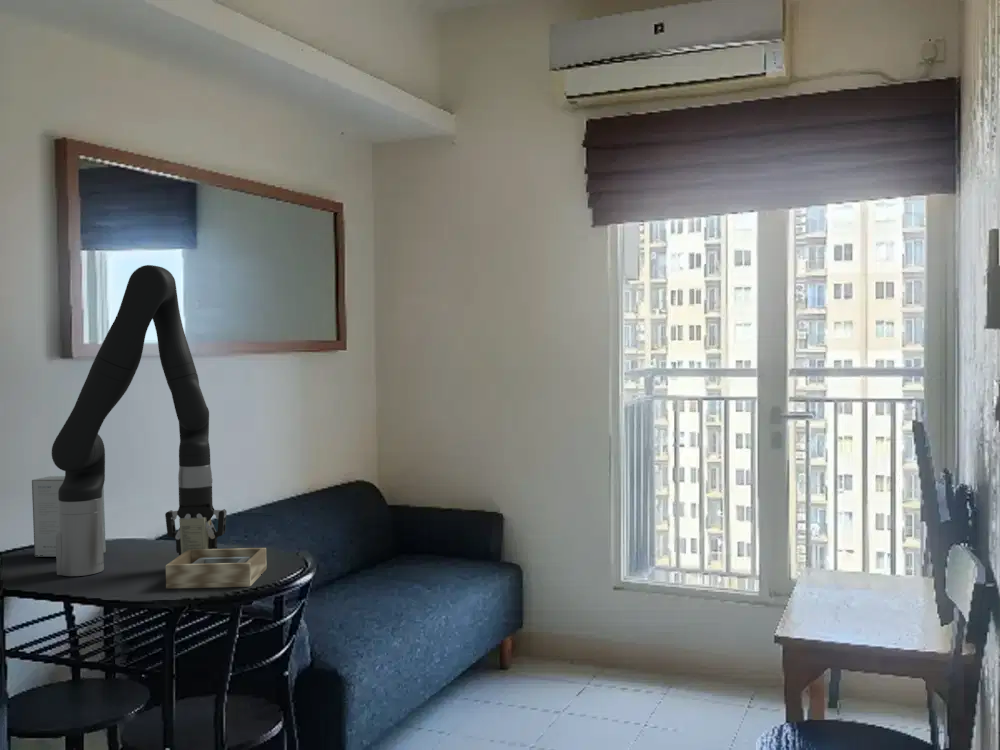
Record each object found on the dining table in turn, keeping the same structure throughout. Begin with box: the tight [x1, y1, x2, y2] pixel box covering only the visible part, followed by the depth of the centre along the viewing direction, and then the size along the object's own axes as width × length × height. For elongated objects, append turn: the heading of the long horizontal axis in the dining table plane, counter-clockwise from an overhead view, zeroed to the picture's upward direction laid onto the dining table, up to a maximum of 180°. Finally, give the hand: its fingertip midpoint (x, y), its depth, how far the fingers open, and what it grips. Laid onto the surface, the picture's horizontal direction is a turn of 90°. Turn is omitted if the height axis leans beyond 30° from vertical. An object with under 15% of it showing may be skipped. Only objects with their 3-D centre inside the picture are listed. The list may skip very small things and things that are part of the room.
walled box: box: [165, 547, 268, 589], centre depth 206 cm, size 18×16×5 cm
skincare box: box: [179, 517, 212, 554], centre depth 216 cm, size 6×4×12 cm
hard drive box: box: [31, 475, 107, 556], centre depth 232 cm, size 16×8×20 cm, turn 81°
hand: (197, 554), depth 216 cm, fingers closed on skincare box, 6 cm apart
